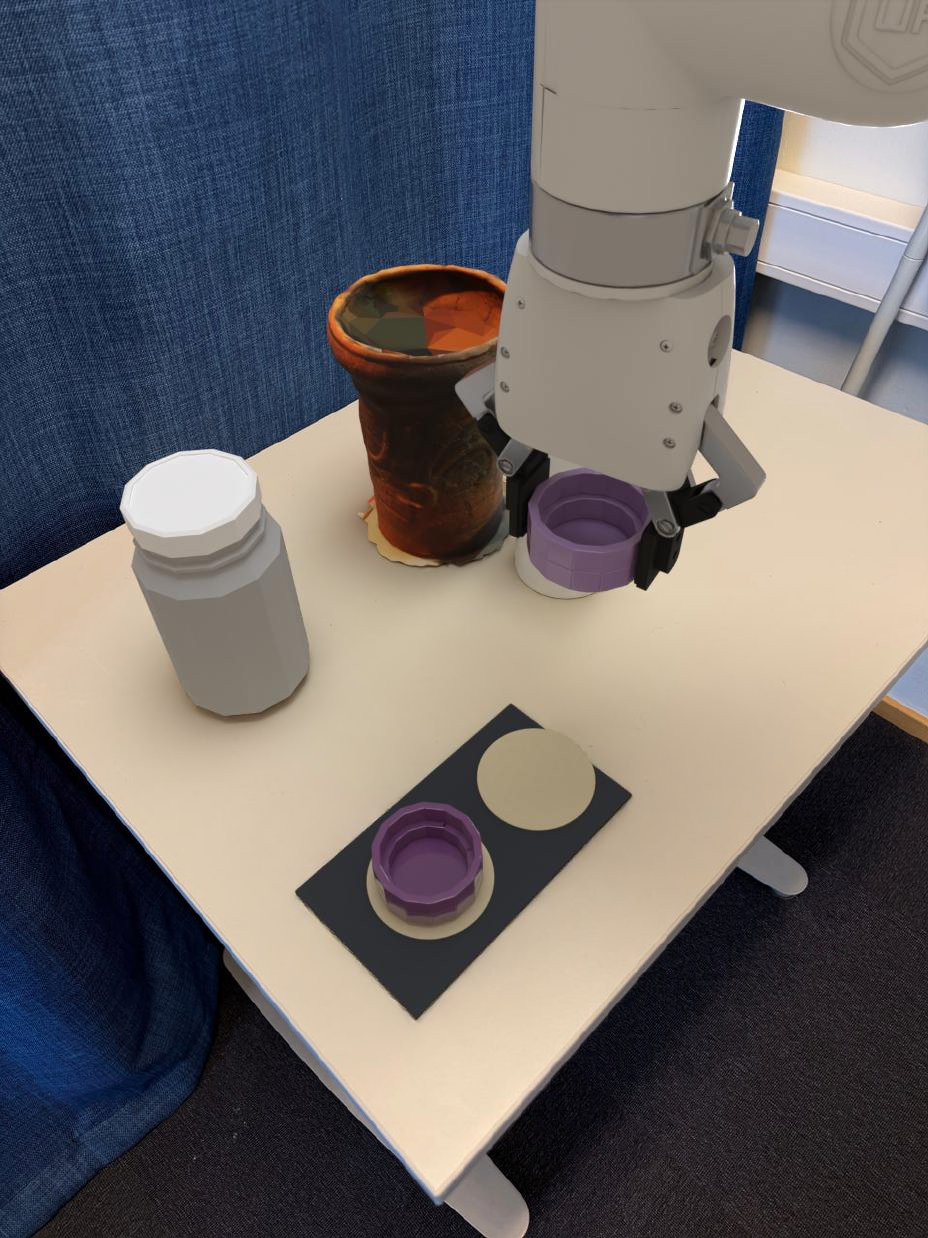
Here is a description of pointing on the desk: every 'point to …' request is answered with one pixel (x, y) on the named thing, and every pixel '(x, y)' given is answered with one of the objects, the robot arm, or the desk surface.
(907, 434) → the desk surface
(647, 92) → the robot arm
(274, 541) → the jar
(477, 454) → the vessel
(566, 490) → the lilac dish
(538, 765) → the mat
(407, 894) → the plum dish
